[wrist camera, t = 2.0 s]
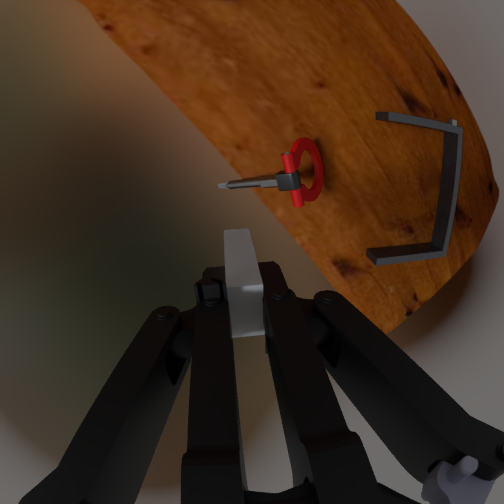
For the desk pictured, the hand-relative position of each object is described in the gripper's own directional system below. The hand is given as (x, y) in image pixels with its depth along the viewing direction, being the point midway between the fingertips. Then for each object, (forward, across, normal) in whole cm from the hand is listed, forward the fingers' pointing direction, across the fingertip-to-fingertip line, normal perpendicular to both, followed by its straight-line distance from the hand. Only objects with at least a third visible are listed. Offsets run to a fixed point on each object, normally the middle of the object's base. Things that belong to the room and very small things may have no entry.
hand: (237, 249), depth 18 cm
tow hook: (+18, +7, +3) cm, 19 cm away
